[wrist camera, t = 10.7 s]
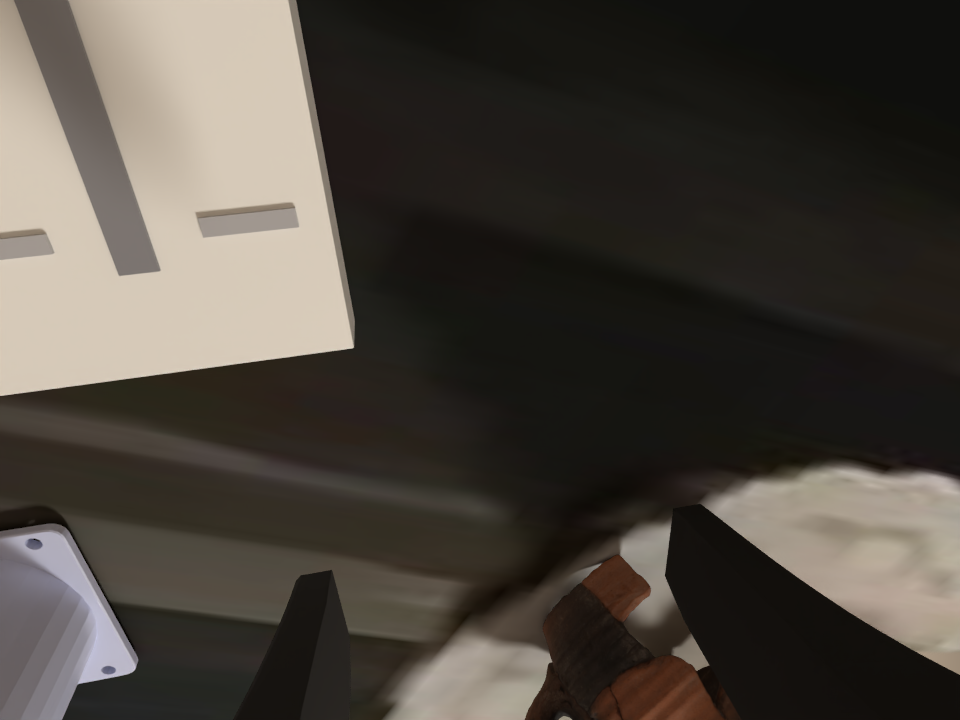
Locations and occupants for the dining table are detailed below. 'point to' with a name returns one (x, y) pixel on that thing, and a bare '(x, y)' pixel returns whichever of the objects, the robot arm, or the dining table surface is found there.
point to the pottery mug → (617, 660)
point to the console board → (161, 192)
